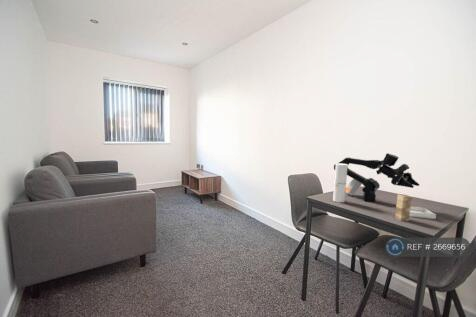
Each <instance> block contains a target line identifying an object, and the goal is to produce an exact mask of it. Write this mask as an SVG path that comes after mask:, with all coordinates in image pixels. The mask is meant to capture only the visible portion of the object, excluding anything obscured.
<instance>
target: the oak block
mask: <svg viewBox="0 0 476 317" xmlns="http://www.w3.org/2000/svg"><path fill="white" fill-rule="evenodd" d="M412 200H413V197H412V196H410V195H408V194H397V198H396V205H395V206H396V207H395V216H394V218H395V219H397V220H398V221H400V222H402V221H403V222H409V221H410V218H411V217H410V209H411V206H412Z"/></svg>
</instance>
